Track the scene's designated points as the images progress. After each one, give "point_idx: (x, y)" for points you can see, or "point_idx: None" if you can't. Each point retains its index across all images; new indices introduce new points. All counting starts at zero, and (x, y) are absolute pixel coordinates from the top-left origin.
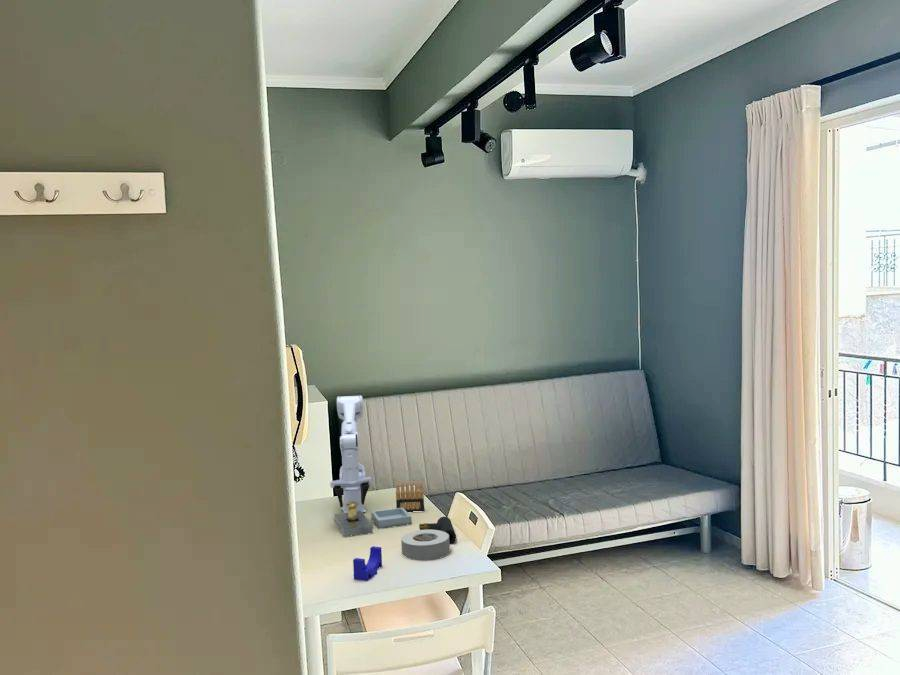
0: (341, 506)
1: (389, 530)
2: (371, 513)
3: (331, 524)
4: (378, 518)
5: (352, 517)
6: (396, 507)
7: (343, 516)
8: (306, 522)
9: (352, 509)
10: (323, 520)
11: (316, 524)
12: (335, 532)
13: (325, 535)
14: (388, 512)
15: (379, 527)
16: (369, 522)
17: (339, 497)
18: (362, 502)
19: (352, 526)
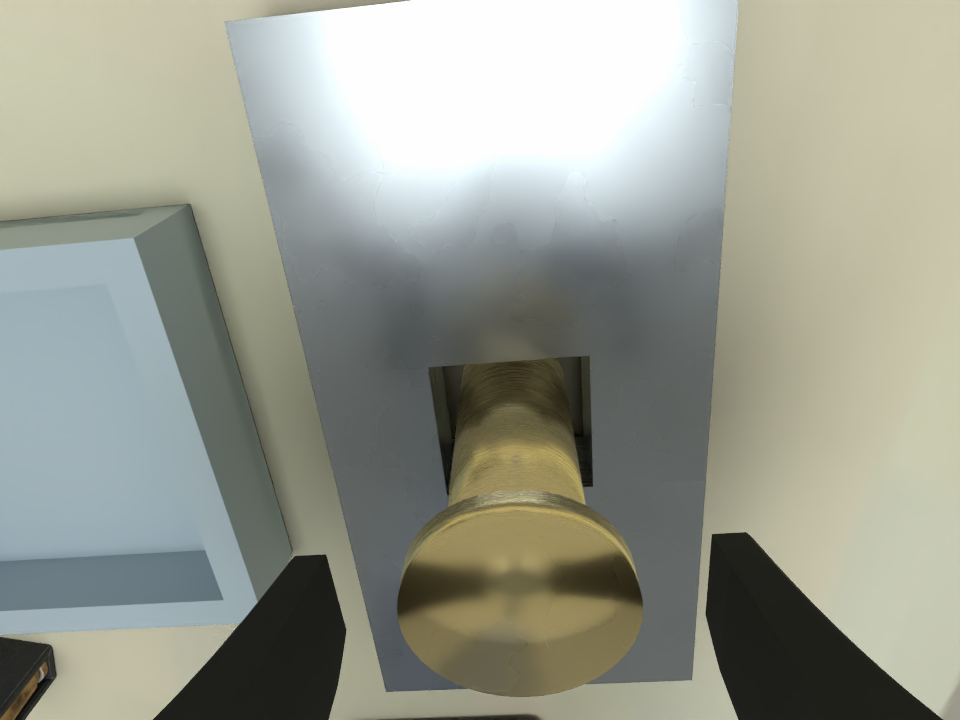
0: (744, 539)
1: (27, 86)
2: None
3: (731, 531)
4: (142, 333)
5: (523, 408)
6: (11, 695)
7: None
8: (949, 651)
9: (521, 483)
10: None
11: (880, 575)
12: (763, 244)
13: (928, 158)
14: (74, 586)
15: (170, 208)
16: (281, 248)
17: (895, 696)
18: (309, 579)
19: (558, 127)
